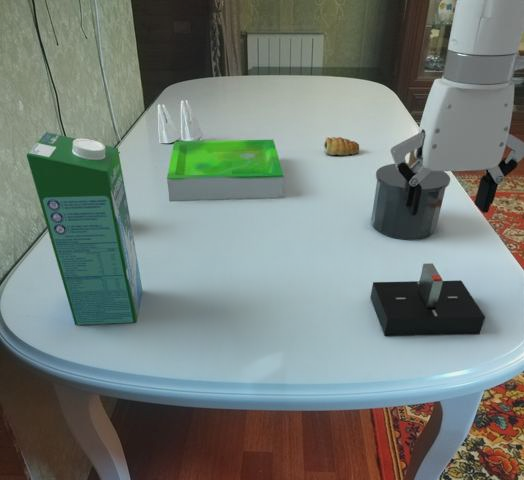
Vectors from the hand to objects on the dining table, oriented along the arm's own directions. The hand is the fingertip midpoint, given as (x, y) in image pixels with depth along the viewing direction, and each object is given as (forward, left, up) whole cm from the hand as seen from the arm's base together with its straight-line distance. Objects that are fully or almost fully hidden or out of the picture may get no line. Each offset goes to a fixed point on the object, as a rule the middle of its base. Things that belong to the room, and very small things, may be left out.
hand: (445, 209), depth 69 cm
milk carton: (+49, -2, -16) cm, 51 cm away
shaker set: (+45, -84, -16) cm, 96 cm away
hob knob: (+1, +2, -13) cm, 13 cm away
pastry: (+2, -74, -16) cm, 75 cm away
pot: (-4, -29, -16) cm, 33 cm away
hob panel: (+1, +2, -16) cm, 16 cm away
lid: (-4, -29, -6) cm, 30 cm away
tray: (+32, -56, -16) cm, 66 cm away
